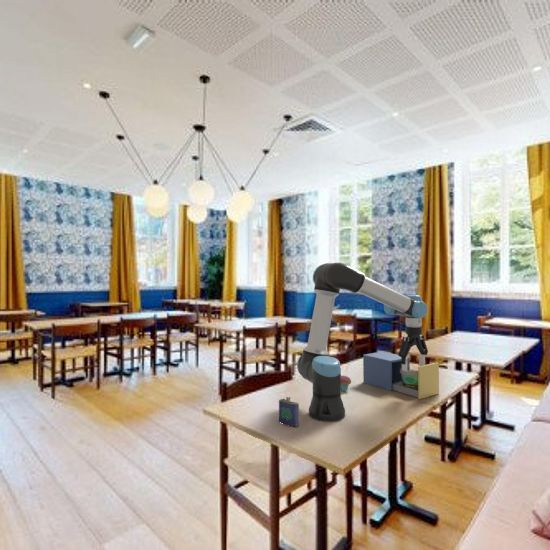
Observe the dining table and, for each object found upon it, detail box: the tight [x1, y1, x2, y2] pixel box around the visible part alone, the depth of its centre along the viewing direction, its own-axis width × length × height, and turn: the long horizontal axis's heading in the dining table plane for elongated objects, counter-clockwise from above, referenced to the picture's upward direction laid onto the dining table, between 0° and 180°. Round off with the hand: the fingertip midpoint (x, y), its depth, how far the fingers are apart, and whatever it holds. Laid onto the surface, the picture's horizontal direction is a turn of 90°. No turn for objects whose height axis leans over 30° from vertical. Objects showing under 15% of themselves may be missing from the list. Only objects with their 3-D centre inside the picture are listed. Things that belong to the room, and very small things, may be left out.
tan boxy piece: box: [392, 362, 440, 400], centre depth 187 cm, size 15×17×15 cm
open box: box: [362, 351, 411, 391], centre depth 201 cm, size 15×18×15 cm
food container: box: [400, 369, 418, 391], centre depth 186 cm, size 12×6×10 cm, turn 68°
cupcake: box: [341, 375, 352, 392], centre depth 192 cm, size 9×8×12 cm
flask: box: [278, 396, 300, 428], centre depth 148 cm, size 9×3×11 cm, turn 51°
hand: (413, 369), depth 187 cm, fingers open, 13 cm apart
